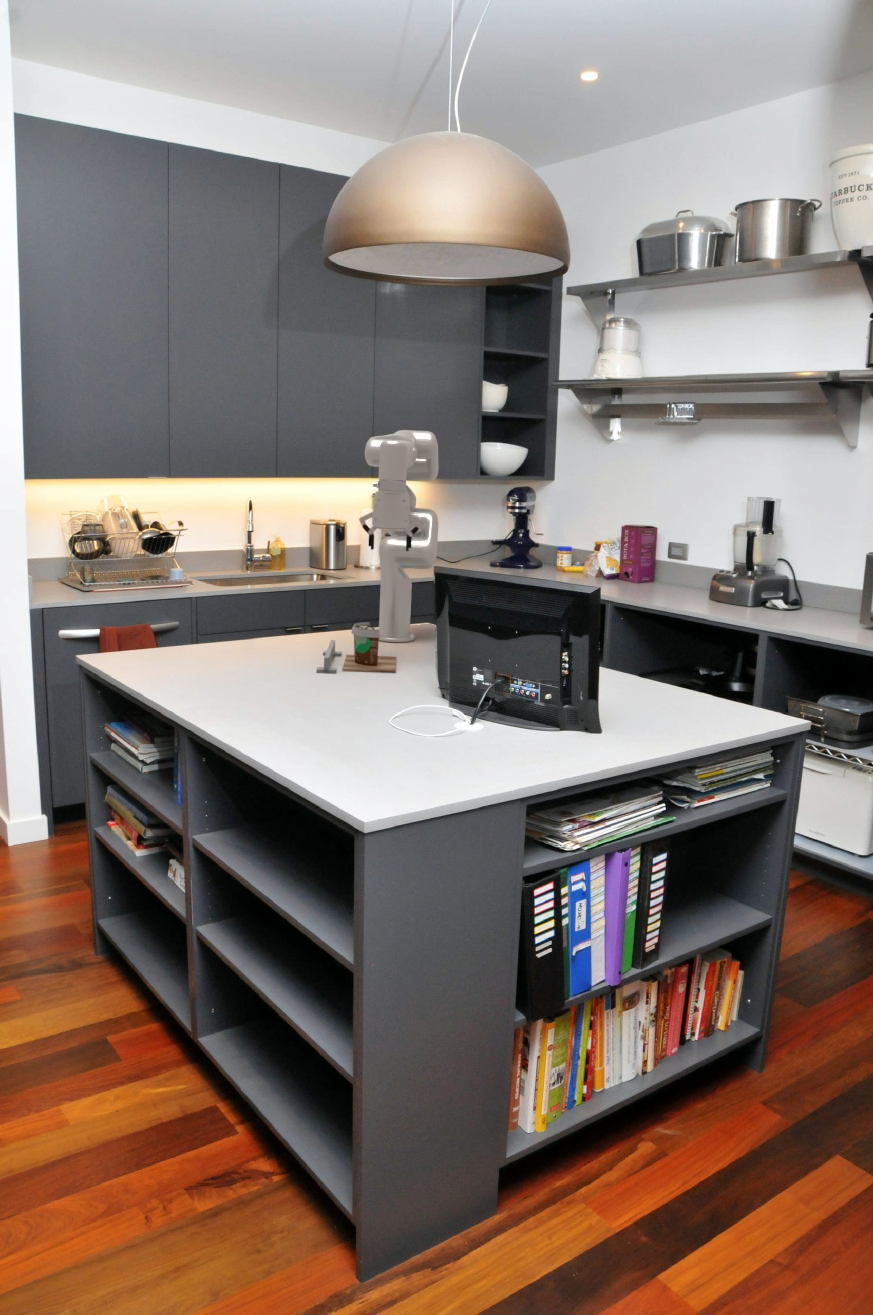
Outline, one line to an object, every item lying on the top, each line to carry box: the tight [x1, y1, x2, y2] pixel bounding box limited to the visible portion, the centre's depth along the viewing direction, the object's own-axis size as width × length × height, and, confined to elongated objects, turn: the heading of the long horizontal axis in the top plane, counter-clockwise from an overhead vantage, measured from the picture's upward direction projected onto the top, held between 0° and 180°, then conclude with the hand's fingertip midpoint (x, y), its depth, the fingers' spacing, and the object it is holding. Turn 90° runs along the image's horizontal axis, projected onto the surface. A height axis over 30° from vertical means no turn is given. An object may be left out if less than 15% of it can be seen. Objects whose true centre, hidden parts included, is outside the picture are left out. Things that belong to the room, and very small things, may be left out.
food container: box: [351, 621, 380, 666], centre depth 270 cm, size 12×6×10 cm, turn 17°
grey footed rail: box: [316, 639, 343, 674], centre depth 271 cm, size 24×5×4 cm, turn 2°
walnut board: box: [342, 654, 397, 674], centre depth 272 cm, size 18×14×1 cm
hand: (389, 549), depth 275 cm, fingers open, 9 cm apart
